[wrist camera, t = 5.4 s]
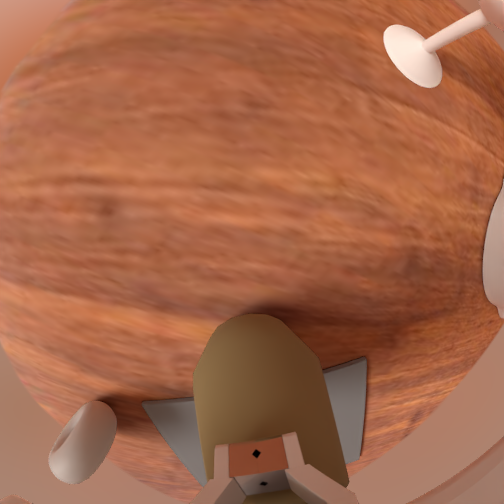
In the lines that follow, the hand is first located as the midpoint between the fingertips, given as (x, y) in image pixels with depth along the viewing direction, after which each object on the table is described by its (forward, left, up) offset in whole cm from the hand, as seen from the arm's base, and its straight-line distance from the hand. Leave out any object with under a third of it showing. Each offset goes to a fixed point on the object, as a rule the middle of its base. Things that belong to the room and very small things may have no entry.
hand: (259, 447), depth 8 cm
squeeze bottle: (0, +2, -11) cm, 11 cm away
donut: (+17, +8, -11) cm, 22 cm away
